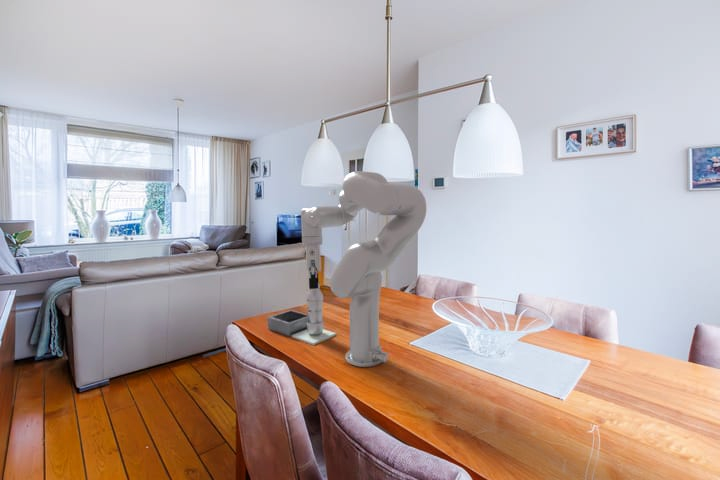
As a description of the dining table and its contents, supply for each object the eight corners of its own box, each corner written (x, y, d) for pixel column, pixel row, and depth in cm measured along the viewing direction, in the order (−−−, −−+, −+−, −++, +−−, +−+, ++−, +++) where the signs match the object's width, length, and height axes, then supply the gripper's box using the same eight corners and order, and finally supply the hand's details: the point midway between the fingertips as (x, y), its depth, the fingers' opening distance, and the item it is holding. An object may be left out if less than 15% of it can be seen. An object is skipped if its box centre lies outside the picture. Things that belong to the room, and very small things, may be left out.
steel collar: (312, 327, 138) (312, 315, 138) (289, 336, 129) (288, 324, 128) (291, 320, 146) (291, 309, 146) (268, 328, 137) (267, 317, 136)
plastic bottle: (323, 336, 126) (323, 285, 124) (305, 337, 126) (305, 285, 123) (324, 330, 133) (323, 281, 130) (306, 330, 132) (306, 281, 130)
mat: (336, 335, 130) (336, 333, 130) (313, 345, 120) (313, 343, 120) (314, 328, 137) (314, 326, 137) (291, 337, 128) (291, 335, 128)
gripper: (322, 242, 117) (324, 290, 118) (322, 238, 134) (324, 280, 135) (300, 243, 116) (302, 291, 117) (303, 239, 133) (305, 281, 134)
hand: (314, 285), depth 126 cm, fingers open, 9 cm apart
